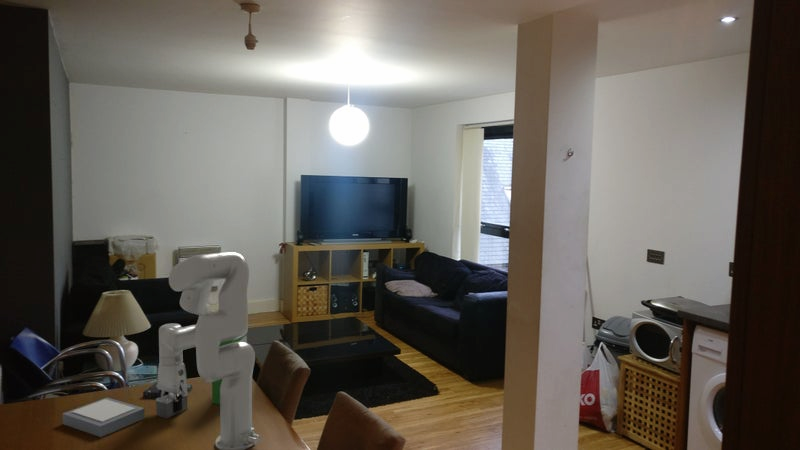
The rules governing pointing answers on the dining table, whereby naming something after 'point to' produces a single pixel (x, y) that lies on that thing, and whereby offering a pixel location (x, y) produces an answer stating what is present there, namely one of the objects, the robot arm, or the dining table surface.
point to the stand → (103, 416)
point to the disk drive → (154, 392)
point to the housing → (168, 405)
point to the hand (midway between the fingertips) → (172, 409)
